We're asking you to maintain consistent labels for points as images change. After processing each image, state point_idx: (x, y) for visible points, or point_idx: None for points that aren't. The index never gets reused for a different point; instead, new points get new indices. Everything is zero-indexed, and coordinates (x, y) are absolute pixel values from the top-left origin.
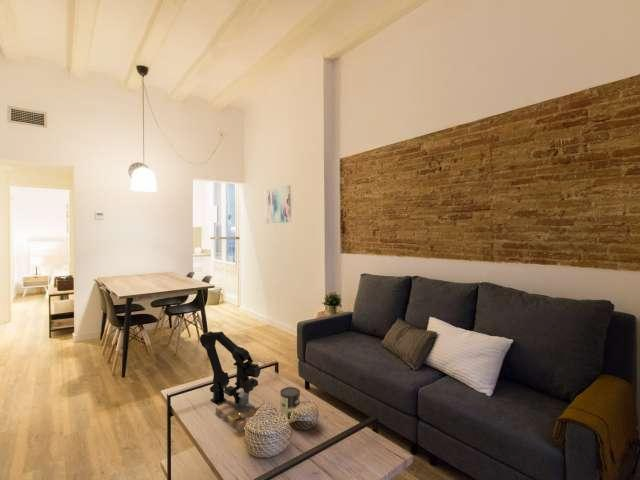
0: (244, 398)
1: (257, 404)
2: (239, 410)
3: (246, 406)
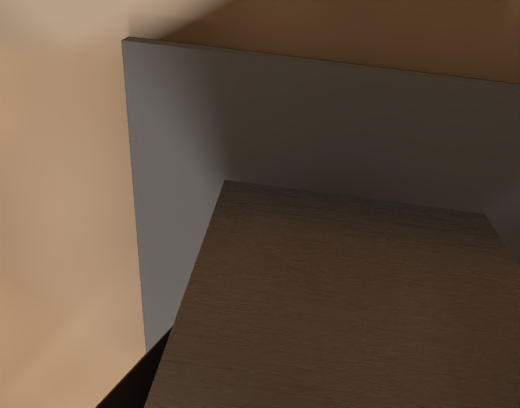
0: (400, 366)
1: (11, 59)
2: (498, 177)
3: (267, 177)
